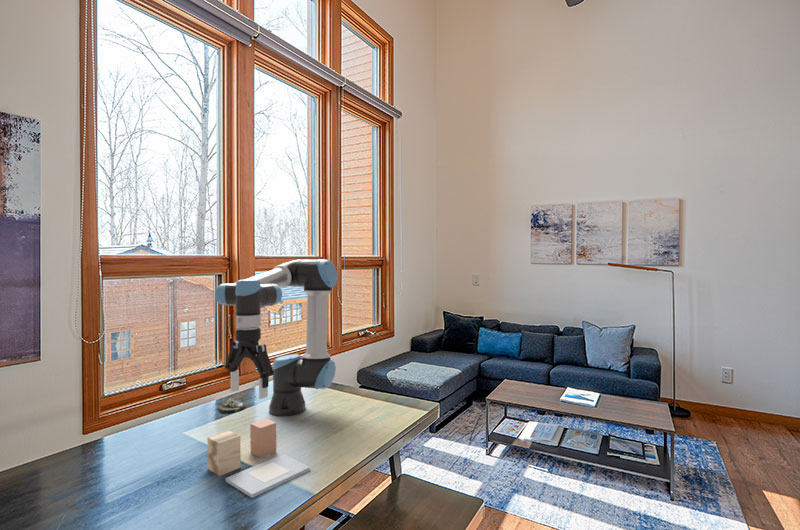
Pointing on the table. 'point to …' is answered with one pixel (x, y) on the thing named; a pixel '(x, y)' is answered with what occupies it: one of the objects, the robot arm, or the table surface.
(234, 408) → the grey lumpy mound
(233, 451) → the beech block
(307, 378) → the robot arm
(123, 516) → the table surface
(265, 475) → the white flat board
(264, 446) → the terracotta block
